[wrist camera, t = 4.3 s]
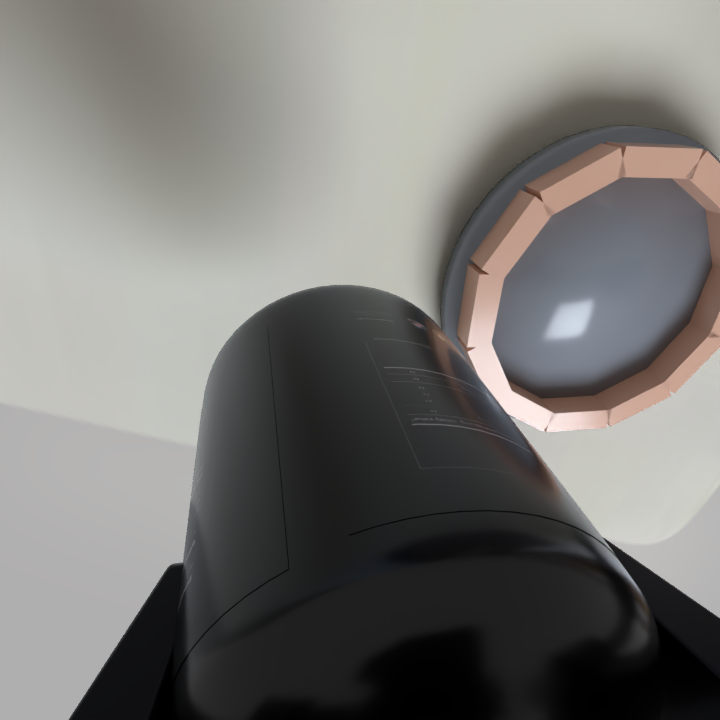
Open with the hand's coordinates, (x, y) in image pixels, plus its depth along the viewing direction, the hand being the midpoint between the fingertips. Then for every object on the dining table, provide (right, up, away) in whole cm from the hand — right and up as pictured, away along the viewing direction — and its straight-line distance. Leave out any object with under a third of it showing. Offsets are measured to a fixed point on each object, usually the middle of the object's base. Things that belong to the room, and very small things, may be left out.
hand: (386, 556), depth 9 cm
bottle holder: (+9, +7, +13) cm, 17 cm away
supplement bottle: (-1, +3, +5) cm, 6 cm away
